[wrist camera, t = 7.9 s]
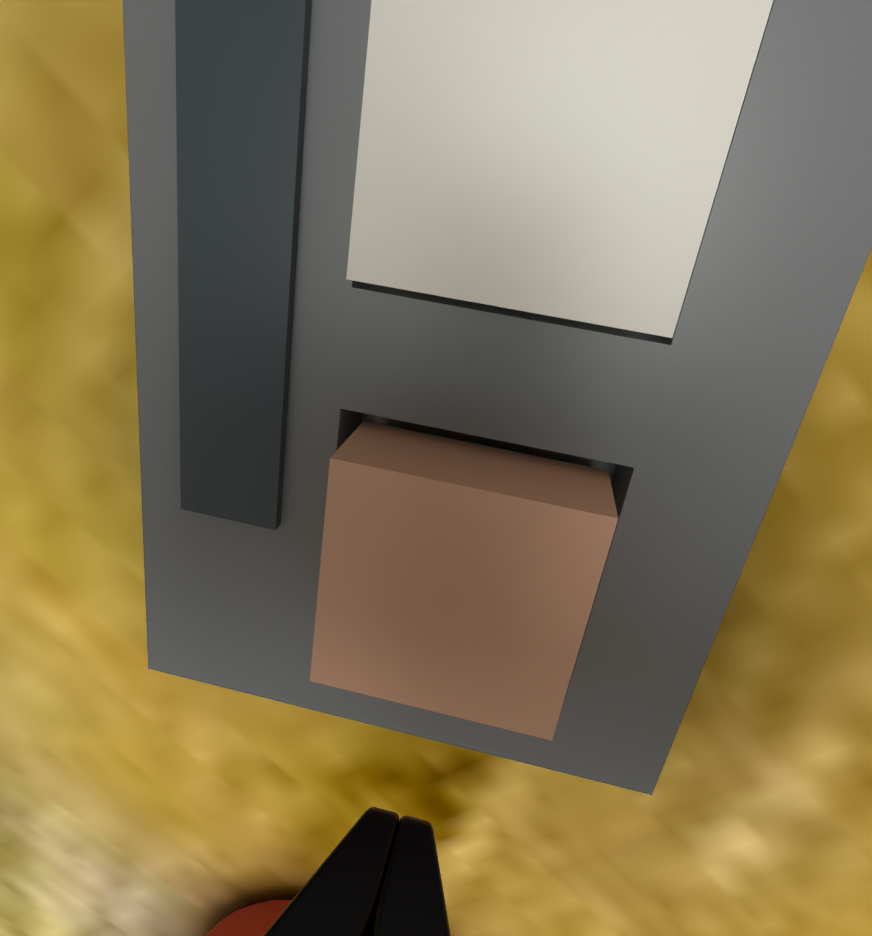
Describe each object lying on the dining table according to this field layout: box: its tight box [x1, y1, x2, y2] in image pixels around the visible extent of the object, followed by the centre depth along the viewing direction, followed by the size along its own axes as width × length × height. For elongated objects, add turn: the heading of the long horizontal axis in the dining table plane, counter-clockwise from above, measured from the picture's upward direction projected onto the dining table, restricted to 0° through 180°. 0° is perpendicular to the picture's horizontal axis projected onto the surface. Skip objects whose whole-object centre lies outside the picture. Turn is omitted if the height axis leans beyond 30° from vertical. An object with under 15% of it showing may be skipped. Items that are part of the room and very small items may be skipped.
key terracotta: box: [310, 421, 618, 741], centre depth 14 cm, size 6×6×2 cm
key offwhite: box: [346, 0, 773, 338], centre depth 11 cm, size 6×6×2 cm
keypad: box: [123, 0, 872, 795], centre depth 13 cm, size 14×29×3 cm, turn 171°
